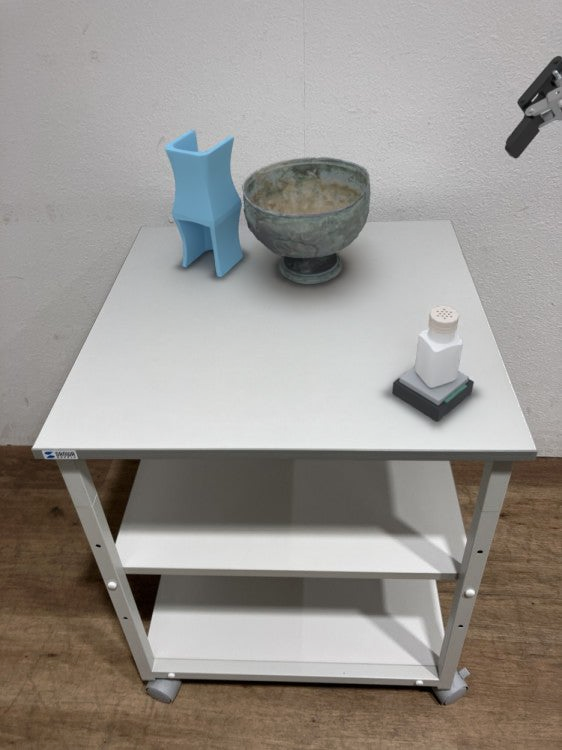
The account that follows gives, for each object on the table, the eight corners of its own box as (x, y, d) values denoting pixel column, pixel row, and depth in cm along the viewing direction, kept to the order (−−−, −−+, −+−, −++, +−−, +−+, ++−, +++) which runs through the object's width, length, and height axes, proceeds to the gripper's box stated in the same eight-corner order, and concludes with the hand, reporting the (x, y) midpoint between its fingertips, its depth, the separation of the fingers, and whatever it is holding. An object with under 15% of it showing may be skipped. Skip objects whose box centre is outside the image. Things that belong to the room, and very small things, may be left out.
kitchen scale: (471, 393, 78) (475, 376, 76) (437, 421, 74) (439, 405, 73) (426, 367, 82) (429, 351, 80) (392, 393, 78) (393, 377, 77)
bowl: (271, 231, 111) (265, 148, 101) (378, 244, 105) (383, 158, 95) (229, 292, 97) (217, 203, 87) (349, 311, 92) (352, 219, 82)
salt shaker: (429, 391, 74) (438, 328, 68) (412, 370, 77) (419, 308, 71) (458, 381, 75) (469, 319, 69) (440, 362, 78) (450, 300, 72)
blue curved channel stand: (246, 254, 105) (234, 136, 92) (221, 277, 100) (204, 156, 87) (208, 244, 108) (191, 129, 95) (182, 266, 103) (160, 148, 90)
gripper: (585, -15, 62) (476, 126, 66) (718, 11, 52) (581, 174, 56) (607, 35, 67) (505, 163, 71) (732, 67, 58) (606, 212, 62)
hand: (539, 168), depth 64 cm, fingers open, 8 cm apart
